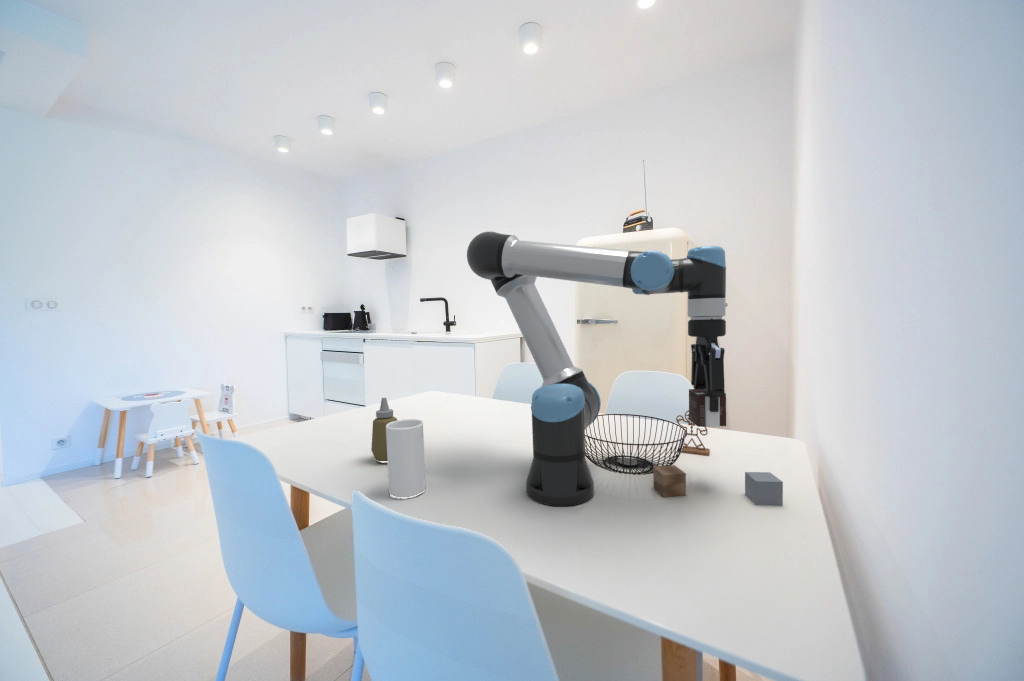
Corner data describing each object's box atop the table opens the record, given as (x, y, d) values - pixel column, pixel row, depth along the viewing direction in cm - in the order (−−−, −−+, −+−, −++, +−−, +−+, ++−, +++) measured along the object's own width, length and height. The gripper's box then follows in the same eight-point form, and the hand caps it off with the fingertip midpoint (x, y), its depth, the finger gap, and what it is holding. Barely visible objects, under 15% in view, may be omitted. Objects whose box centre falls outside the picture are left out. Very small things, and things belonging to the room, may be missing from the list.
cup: (432, 487, 96) (430, 420, 95) (410, 502, 88) (407, 429, 87) (405, 482, 99) (402, 418, 98) (381, 496, 92) (377, 426, 91)
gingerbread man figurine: (709, 451, 114) (709, 409, 113) (708, 456, 110) (708, 412, 110) (676, 447, 118) (675, 407, 118) (674, 451, 115) (673, 410, 114)
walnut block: (663, 497, 87) (663, 475, 86) (653, 488, 92) (653, 466, 91) (686, 496, 87) (685, 473, 87) (674, 486, 92) (674, 465, 92)
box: (715, 420, 93) (715, 388, 93) (727, 427, 87) (726, 393, 87) (688, 420, 94) (688, 388, 93) (697, 427, 88) (697, 393, 87)
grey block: (756, 505, 82) (756, 481, 82) (745, 494, 87) (745, 471, 87) (782, 506, 81) (782, 481, 81) (769, 495, 86) (770, 472, 86)
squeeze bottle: (396, 465, 111) (393, 400, 110) (367, 466, 111) (364, 401, 110) (405, 455, 119) (402, 394, 118) (377, 456, 119) (374, 395, 118)
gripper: (743, 318, 79) (743, 434, 80) (708, 317, 98) (709, 412, 99) (703, 319, 80) (704, 434, 81) (676, 318, 99) (677, 412, 100)
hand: (706, 421), depth 90 cm, fingers closed on box, 6 cm apart
